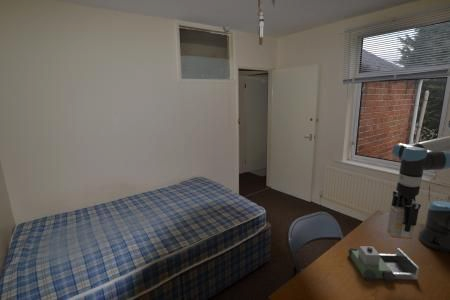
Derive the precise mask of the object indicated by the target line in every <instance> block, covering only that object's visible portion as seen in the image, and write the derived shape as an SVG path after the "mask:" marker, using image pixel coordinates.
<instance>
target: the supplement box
mask: <svg viewBox="0 0 450 300" xmlns="http://www.w3.org/2000/svg"><path fill="white" fill-rule="evenodd" d="M403 223H404V208H403V207H398V206H391V205H390V209H389V216H388V222H387V227H386V232H387V233H388V235H389V237H391V238H396V239H408V240H413V236H414V232H415V228H416V226H411V228H410V232H409V235H408V237H400V234H401V229H402V224H403Z"/></svg>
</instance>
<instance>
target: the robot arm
mask: <svg viewBox="0 0 450 300" xmlns="http://www.w3.org/2000/svg"><path fill="white" fill-rule="evenodd" d="M391 153H392V156H393V157H395V158H396V159H399V160H400V165H399V166H400V167H399V171H398V172H399V174H398V179H397V184H396V188H395V189H396V191H392V201H391V205H390V207H391V206H398V207H403V208H404V223H403V224H402V229H401V234H400V237H408V235H409V232H410V228H411V226H415V227H416V226H417V222H418V216H419V210H420V208H421V206H422V205H421V204H420V203H417V201H416V197H417V196H418V195H419V194H420V188H421V184H422V181H423V175H424V171H437V170H439V171H441V170H446V169H449V168H450V135H448V136H443V137H439V138H434V139H429V140H425V141H421V142H414V143H410V144H409V143H404V142H403V143H402V142H400V143H397V144H395V145H394V146H393V148H392V152H391ZM427 208H428V209H427V214H426V220H425V225H424V226H423V228H422V229H421V231H419V233H418V237H417V238H418V240H419V241H420V242H421V243H422V244H424V245H425V246H427V247H429V248H430V249H434V250H435V251H436V250H437V251H439V252H445V253H450V201H443V200H441V201H440V200H436V201H435V200H434V201H431V202H430V204H429V207H427Z"/></svg>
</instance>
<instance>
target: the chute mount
mask: <svg viewBox="0 0 450 300" xmlns="http://www.w3.org/2000/svg"><path fill="white" fill-rule="evenodd" d="M379 254H380V258H381V259H382V260H383V261H384V262H385V263H386V265H387V266H388V267H389V268H390V269H391V271H392V272H393V273H394V274H395V279H394V280H410V281H411V280H412V281H414V280H418V277H419V272H420V267H419V266H418V265H417V264H416V263H415V262H414V261H413V260H412V259H411V258H410V256H408V255H407V254H406V253H405V252H404V251H403V250H402V249H401V248H400V247H397V248H396V251H395V254H394V253H379Z"/></svg>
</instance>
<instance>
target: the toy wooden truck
mask: <svg viewBox="0 0 450 300" xmlns="http://www.w3.org/2000/svg"><path fill="white" fill-rule="evenodd" d="M347 252H348V254H349V256H350V258H351V260H352V262H353V263H354V265H355V266H356V268H357V269H358V271H359V272H360V273H361V275H362V277H363V278H365V280H366V281H369V282H371V281H373V280H376V279H384V280H385V281H386V282H393V281H395V280H396V279H395V274H394V273H393V272H392V271H391V269H390V268H389V267H388V266H387V265H386V263H385V262H384V261H383V260H382V259H381V258H380V254H381V253H379V252H378V251H377V249H376V248H375V247H374V246H371V245H370V246H367V245H365V246H364V245H362V246H361V245H360V246H359V248H358V249H357V248H356V247H350V248H349V249H348V251H347Z"/></svg>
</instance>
